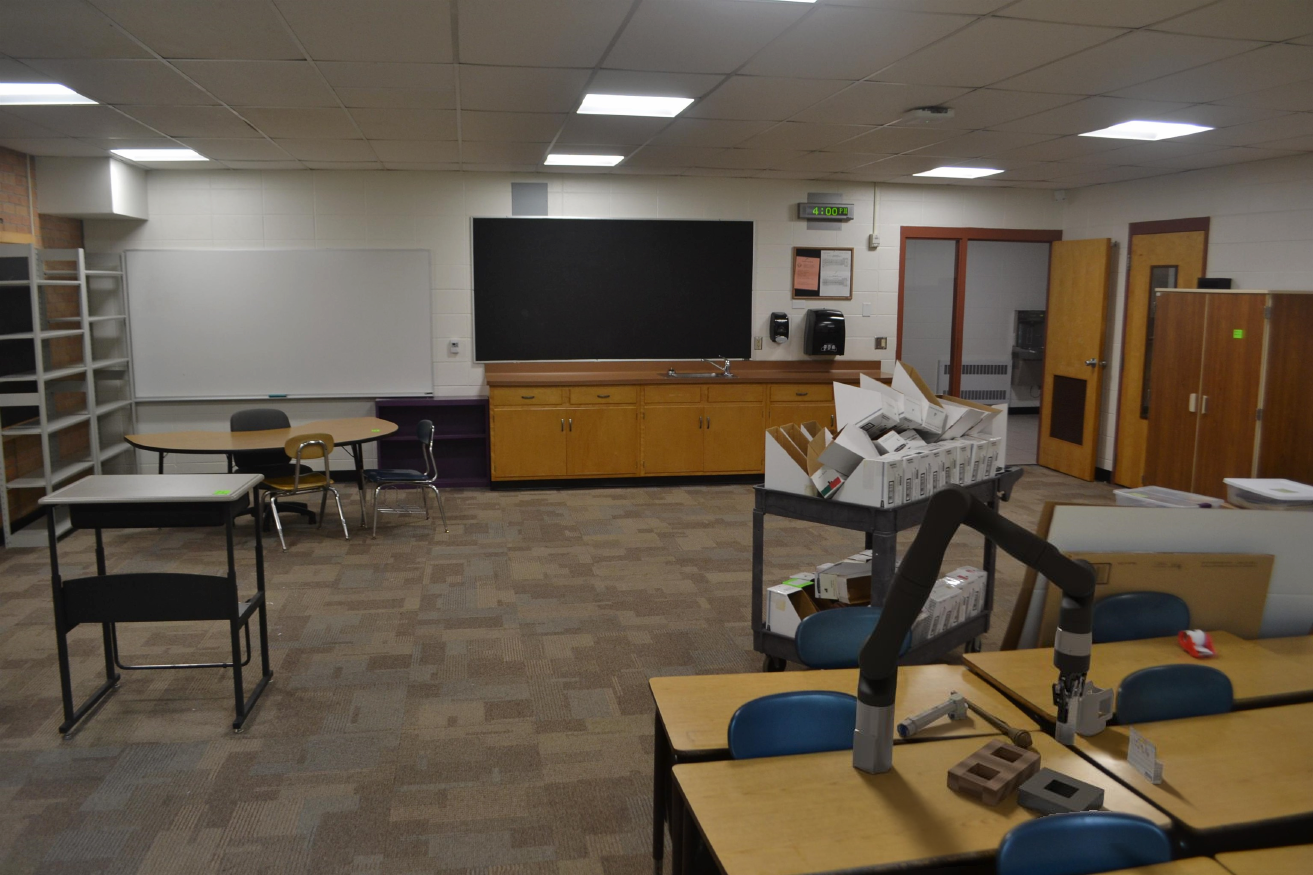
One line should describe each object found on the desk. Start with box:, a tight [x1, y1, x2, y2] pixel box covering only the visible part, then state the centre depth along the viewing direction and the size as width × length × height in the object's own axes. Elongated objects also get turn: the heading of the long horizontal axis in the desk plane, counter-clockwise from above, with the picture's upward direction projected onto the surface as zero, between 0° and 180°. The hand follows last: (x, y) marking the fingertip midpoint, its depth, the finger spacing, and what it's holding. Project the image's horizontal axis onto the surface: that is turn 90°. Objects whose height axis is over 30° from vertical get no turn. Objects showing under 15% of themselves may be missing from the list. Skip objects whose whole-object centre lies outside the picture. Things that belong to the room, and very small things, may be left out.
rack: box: [946, 737, 1042, 807], centre depth 224 cm, size 24×12×4 cm, turn 134°
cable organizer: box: [1075, 679, 1115, 737], centre depth 249 cm, size 7×13×12 cm, turn 125°
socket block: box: [1016, 766, 1105, 816], centre depth 213 cm, size 14×14×4 cm
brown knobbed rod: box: [950, 690, 1033, 748], centre depth 254 cm, size 5×35×5 cm
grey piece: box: [896, 693, 969, 739], centre depth 252 cm, size 5×7×25 cm
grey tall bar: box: [1054, 692, 1078, 746], centre depth 210 cm, size 4×4×11 cm
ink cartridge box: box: [1126, 726, 1164, 785], centre depth 227 cm, size 2×11×10 cm, turn 4°
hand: (1066, 718), depth 210 cm, fingers closed on grey tall bar, 4 cm apart
